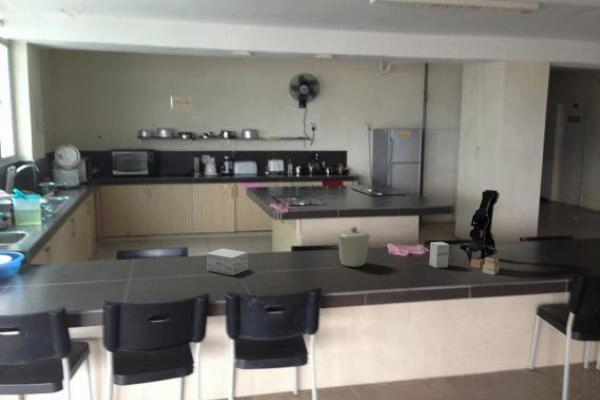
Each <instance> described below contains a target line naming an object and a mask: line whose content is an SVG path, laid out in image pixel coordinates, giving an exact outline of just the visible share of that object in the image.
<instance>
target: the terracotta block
mask: <svg viewBox="0 0 600 400" xmlns="http://www.w3.org/2000/svg"><path fill="white" fill-rule="evenodd" d="M483 262H484V259H481V258H478V257H474V258H473V257H472V259H471V263H470V267H473V268H478V269H481V268H483Z"/></svg>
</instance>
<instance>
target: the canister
mask: <svg viewBox="0 0 600 400" xmlns="http://www.w3.org/2000/svg"><path fill="white" fill-rule="evenodd" d="M336 236H337V241H338V254H339V261H340V263H341V264H342V265H343V266H346V267H350V268H355V267H356V268H357V267H362V266H364V265H365V264H366V260H367V255H368V249H369V243H370V241H369V240H370V238H371V235H370V234H369V233H368V232H366V231H363V230H358V228H357V227H356V226H355V225H354V226H351V227H350V229H346V230H345V229H344V230H342V231H339V232H338V233H337V234H336Z"/></svg>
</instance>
